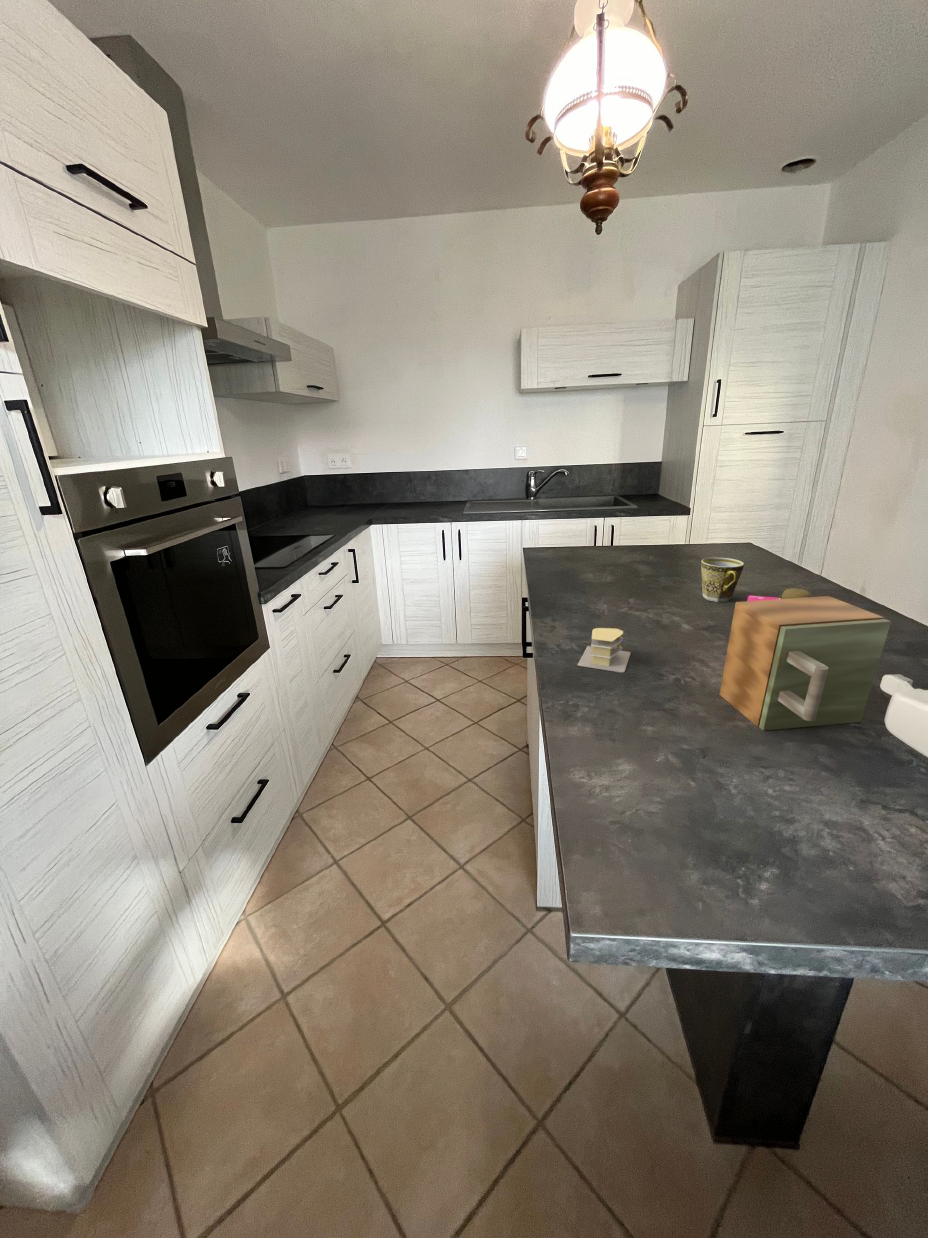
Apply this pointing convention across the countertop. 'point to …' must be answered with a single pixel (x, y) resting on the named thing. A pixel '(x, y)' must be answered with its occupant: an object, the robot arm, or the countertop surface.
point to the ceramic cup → (720, 578)
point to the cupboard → (771, 643)
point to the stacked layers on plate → (605, 651)
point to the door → (822, 673)
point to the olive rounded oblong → (795, 593)
